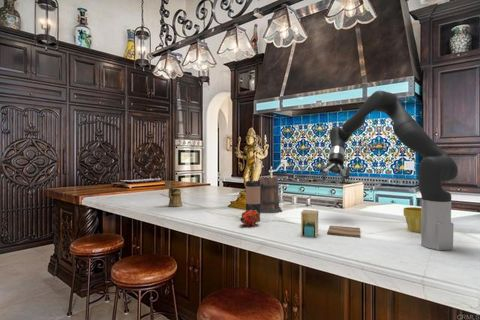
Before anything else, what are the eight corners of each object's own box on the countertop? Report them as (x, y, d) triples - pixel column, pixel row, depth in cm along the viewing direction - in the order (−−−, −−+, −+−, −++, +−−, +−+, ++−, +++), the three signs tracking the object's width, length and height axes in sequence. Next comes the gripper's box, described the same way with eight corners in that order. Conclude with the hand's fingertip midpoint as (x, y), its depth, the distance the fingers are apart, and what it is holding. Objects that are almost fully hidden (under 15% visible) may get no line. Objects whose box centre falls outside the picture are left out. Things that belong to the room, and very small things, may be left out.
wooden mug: (160, 207, 192) (160, 179, 191) (174, 204, 204) (174, 178, 203) (171, 208, 188) (171, 180, 187) (185, 205, 199) (185, 178, 199)
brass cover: (303, 232, 131) (303, 209, 131) (318, 233, 129) (318, 210, 128) (301, 236, 125) (301, 212, 125) (316, 237, 123) (316, 213, 123)
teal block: (305, 233, 129) (305, 224, 129) (315, 234, 128) (315, 225, 128) (304, 236, 126) (304, 226, 126) (314, 236, 124) (314, 227, 124)
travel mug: (263, 219, 157) (263, 181, 157) (253, 221, 151) (253, 182, 151) (252, 217, 162) (252, 180, 162) (242, 219, 157) (242, 181, 156)
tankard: (263, 207, 194) (263, 176, 193) (287, 209, 184) (287, 177, 184) (243, 213, 174) (243, 178, 174) (269, 216, 165) (269, 180, 165)
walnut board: (329, 227, 140) (329, 225, 140) (359, 230, 135) (359, 227, 135) (327, 234, 128) (327, 232, 128) (360, 237, 123) (360, 235, 123)
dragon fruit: (260, 226, 148) (243, 234, 139) (249, 214, 152) (232, 222, 144) (267, 214, 143) (249, 222, 135) (255, 202, 148) (238, 209, 139)
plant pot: (397, 229, 137) (398, 207, 137) (413, 227, 141) (413, 206, 141) (419, 234, 128) (419, 211, 127) (435, 232, 132) (435, 210, 131)
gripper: (324, 148, 154) (320, 173, 144) (352, 155, 151) (350, 180, 141) (321, 158, 159) (316, 182, 150) (348, 164, 157) (346, 189, 147)
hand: (333, 181), depth 145 cm, fingers open, 8 cm apart
